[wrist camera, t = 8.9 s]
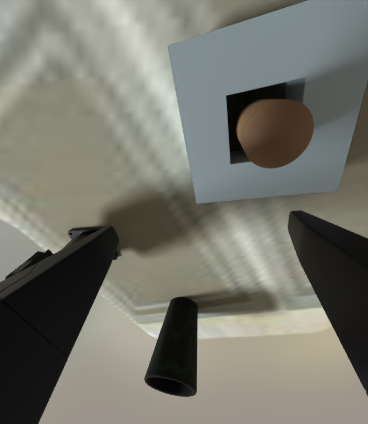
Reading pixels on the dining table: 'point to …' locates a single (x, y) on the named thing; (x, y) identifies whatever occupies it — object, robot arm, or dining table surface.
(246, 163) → the socket
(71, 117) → the dining table surface
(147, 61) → the dining table surface
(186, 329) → the cup
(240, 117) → the dowel
